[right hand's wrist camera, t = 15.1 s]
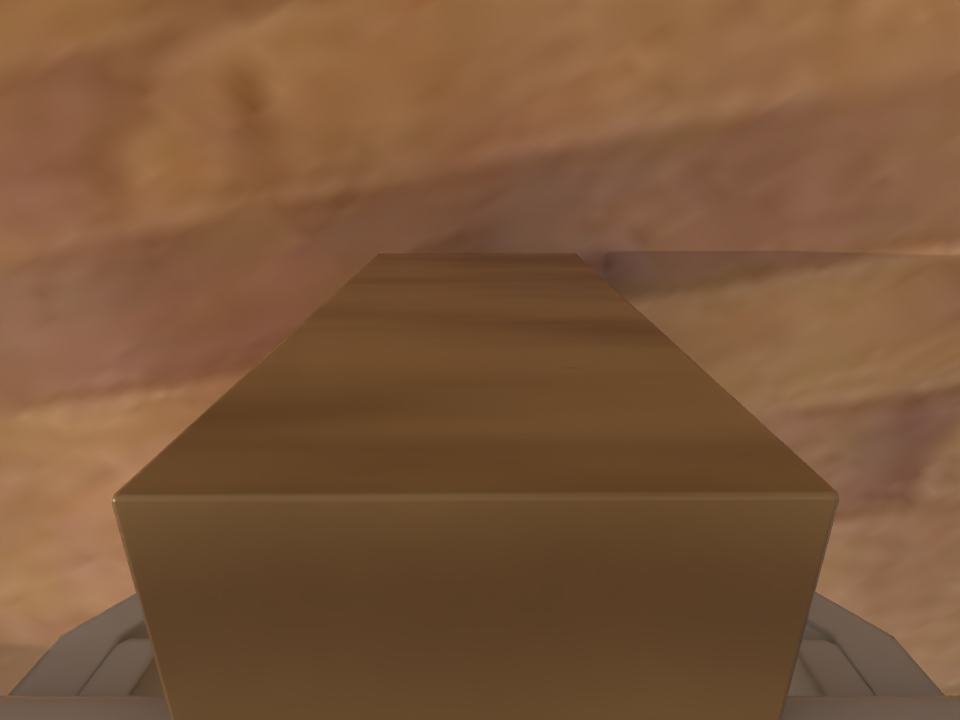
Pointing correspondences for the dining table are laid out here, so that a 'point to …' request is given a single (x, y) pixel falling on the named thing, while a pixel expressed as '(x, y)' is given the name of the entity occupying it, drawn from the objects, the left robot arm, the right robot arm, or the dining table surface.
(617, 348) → the box
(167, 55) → the dining table surface
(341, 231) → the dining table surface
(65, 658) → the right robot arm
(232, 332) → the dining table surface
